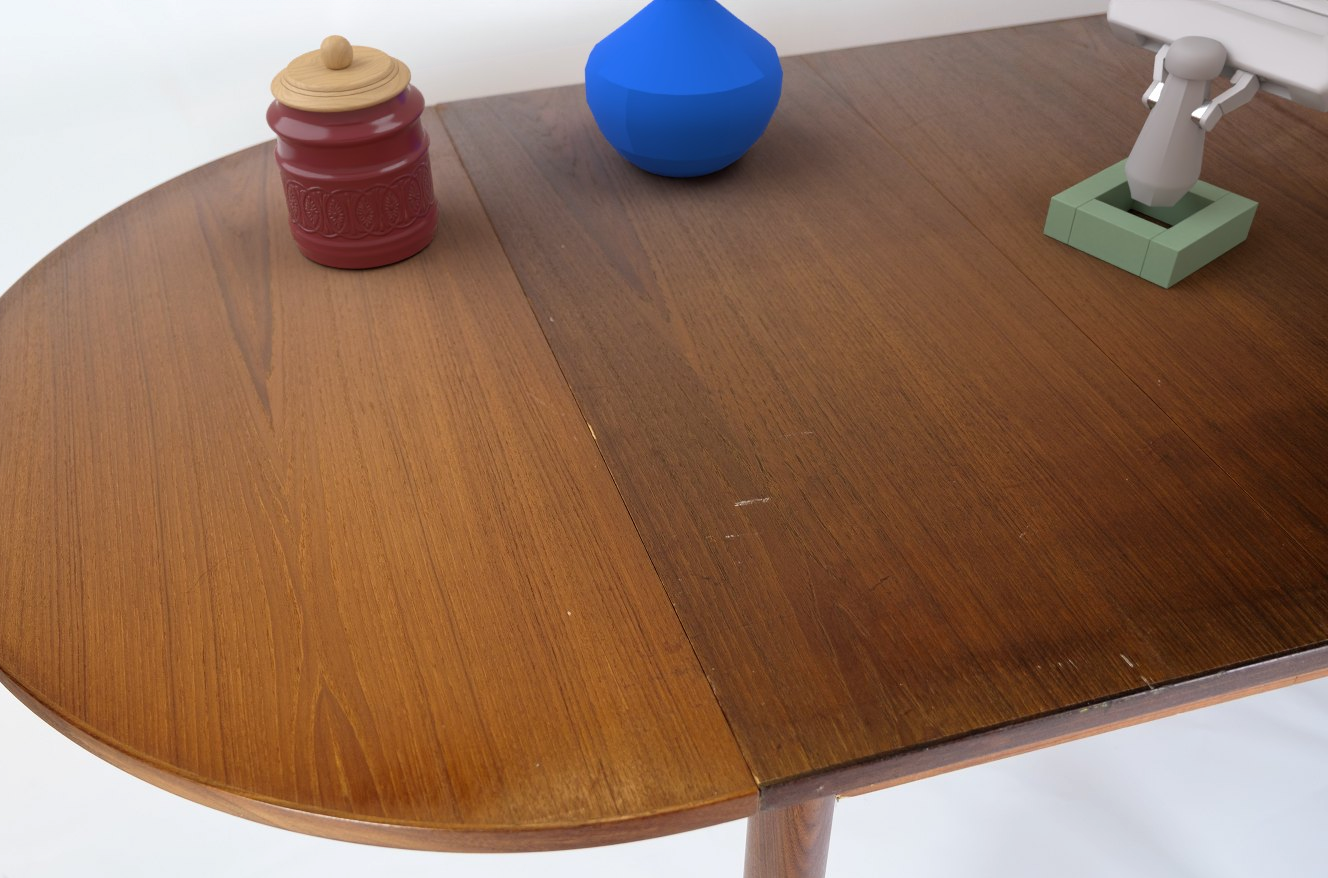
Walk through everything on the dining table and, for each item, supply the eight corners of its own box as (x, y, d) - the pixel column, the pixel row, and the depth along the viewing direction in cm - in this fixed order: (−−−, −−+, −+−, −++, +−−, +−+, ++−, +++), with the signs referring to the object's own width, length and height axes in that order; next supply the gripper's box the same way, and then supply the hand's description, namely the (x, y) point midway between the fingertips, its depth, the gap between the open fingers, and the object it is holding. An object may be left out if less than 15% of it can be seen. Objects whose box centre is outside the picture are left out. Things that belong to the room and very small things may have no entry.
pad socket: (1246, 239, 105) (1259, 202, 103) (1166, 289, 100) (1178, 251, 98) (1123, 190, 112) (1132, 154, 110) (1042, 233, 107) (1051, 197, 105)
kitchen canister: (430, 190, 116) (405, -1, 104) (451, 259, 106) (426, 57, 95) (289, 210, 113) (248, 17, 102) (297, 282, 104) (252, 78, 92)
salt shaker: (1163, 219, 101) (1210, 63, 92) (1103, 193, 104) (1144, 40, 96) (1205, 198, 103) (1256, 43, 95) (1146, 172, 107) (1190, 22, 98)
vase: (777, 115, 126) (790, -83, 113) (776, 203, 112) (792, -12, 100) (598, 111, 128) (592, -84, 115) (576, 197, 114) (566, -15, 101)
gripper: (1421, 23, 93) (1302, 181, 95) (1181, -47, 105) (1080, 94, 107) (1414, -25, 88) (1288, 143, 90) (1163, -93, 100) (1058, 56, 102)
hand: (1173, 116), depth 99 cm, fingers closed on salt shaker, 3 cm apart
